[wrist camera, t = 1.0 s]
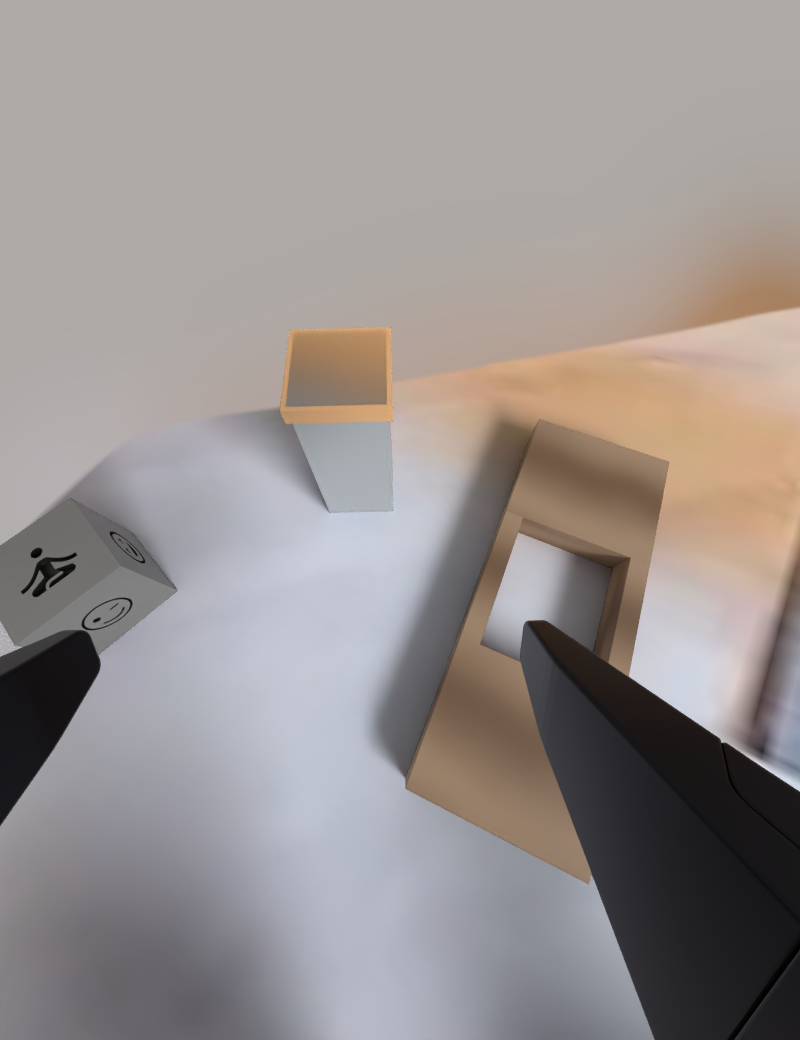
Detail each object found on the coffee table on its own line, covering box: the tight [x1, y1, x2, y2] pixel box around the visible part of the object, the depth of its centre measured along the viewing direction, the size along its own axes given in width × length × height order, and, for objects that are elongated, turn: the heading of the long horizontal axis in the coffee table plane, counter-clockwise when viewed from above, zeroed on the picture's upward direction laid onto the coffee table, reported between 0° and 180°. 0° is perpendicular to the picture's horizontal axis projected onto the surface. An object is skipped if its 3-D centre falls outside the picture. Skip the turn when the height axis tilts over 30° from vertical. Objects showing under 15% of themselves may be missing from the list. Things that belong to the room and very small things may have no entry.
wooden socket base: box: [405, 419, 669, 884], centre depth 21 cm, size 22×8×2 cm, turn 156°
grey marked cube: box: [0, 498, 178, 655], centre depth 20 cm, size 5×5×5 cm
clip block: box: [280, 327, 393, 513], centre depth 21 cm, size 4×4×10 cm
